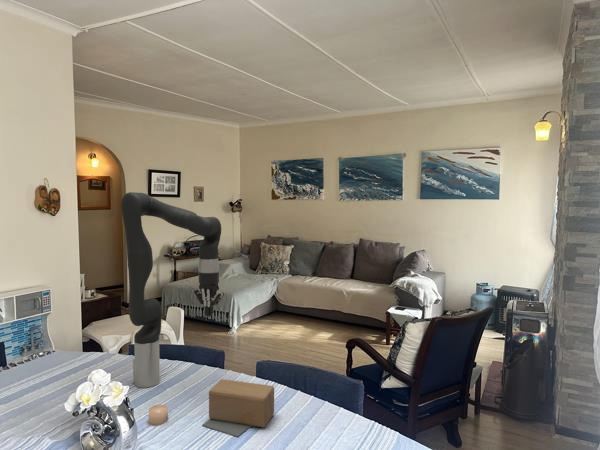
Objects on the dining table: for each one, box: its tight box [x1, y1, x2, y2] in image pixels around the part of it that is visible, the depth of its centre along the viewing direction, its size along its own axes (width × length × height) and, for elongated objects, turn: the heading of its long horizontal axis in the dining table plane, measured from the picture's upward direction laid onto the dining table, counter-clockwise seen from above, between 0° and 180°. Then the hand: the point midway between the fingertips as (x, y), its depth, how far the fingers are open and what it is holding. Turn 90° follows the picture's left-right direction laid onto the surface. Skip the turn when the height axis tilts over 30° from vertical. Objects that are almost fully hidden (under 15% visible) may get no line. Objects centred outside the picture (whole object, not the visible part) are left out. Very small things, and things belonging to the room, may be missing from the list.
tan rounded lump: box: [148, 404, 169, 426], centre depth 140 cm, size 6×6×4 cm
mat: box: [201, 418, 253, 438], centre depth 140 cm, size 14×14×1 cm
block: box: [208, 378, 275, 428], centre depth 142 cm, size 10×10×20 cm
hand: (209, 315), depth 161 cm, fingers closed
